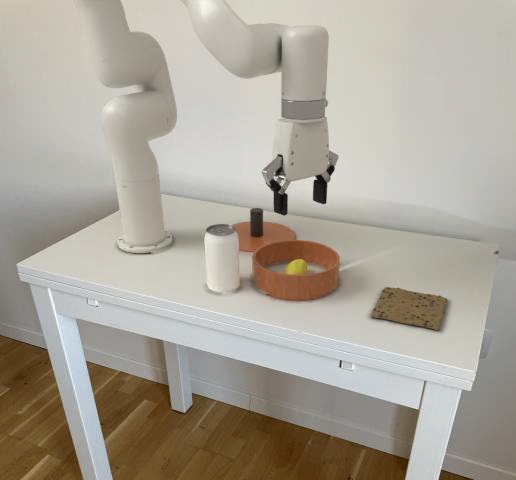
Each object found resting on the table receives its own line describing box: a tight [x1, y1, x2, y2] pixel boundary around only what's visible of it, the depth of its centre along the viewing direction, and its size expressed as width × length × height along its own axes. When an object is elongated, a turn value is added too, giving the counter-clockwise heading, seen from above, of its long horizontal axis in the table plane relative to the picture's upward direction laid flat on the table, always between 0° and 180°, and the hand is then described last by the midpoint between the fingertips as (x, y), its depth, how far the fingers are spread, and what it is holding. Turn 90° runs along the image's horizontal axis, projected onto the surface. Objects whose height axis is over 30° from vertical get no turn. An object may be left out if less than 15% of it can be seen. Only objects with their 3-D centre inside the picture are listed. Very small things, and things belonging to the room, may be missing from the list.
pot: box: [251, 239, 341, 302], centre depth 108 cm, size 17×17×5 cm
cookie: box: [371, 286, 448, 331], centre depth 99 cm, size 12×12×1 cm
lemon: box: [283, 259, 308, 275], centre depth 108 cm, size 4×8×4 cm, turn 153°
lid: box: [231, 207, 296, 253], centre depth 126 cm, size 18×18×7 cm
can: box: [203, 223, 241, 293], centre depth 104 cm, size 6×6×12 cm
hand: (300, 207), depth 101 cm, fingers open, 9 cm apart
